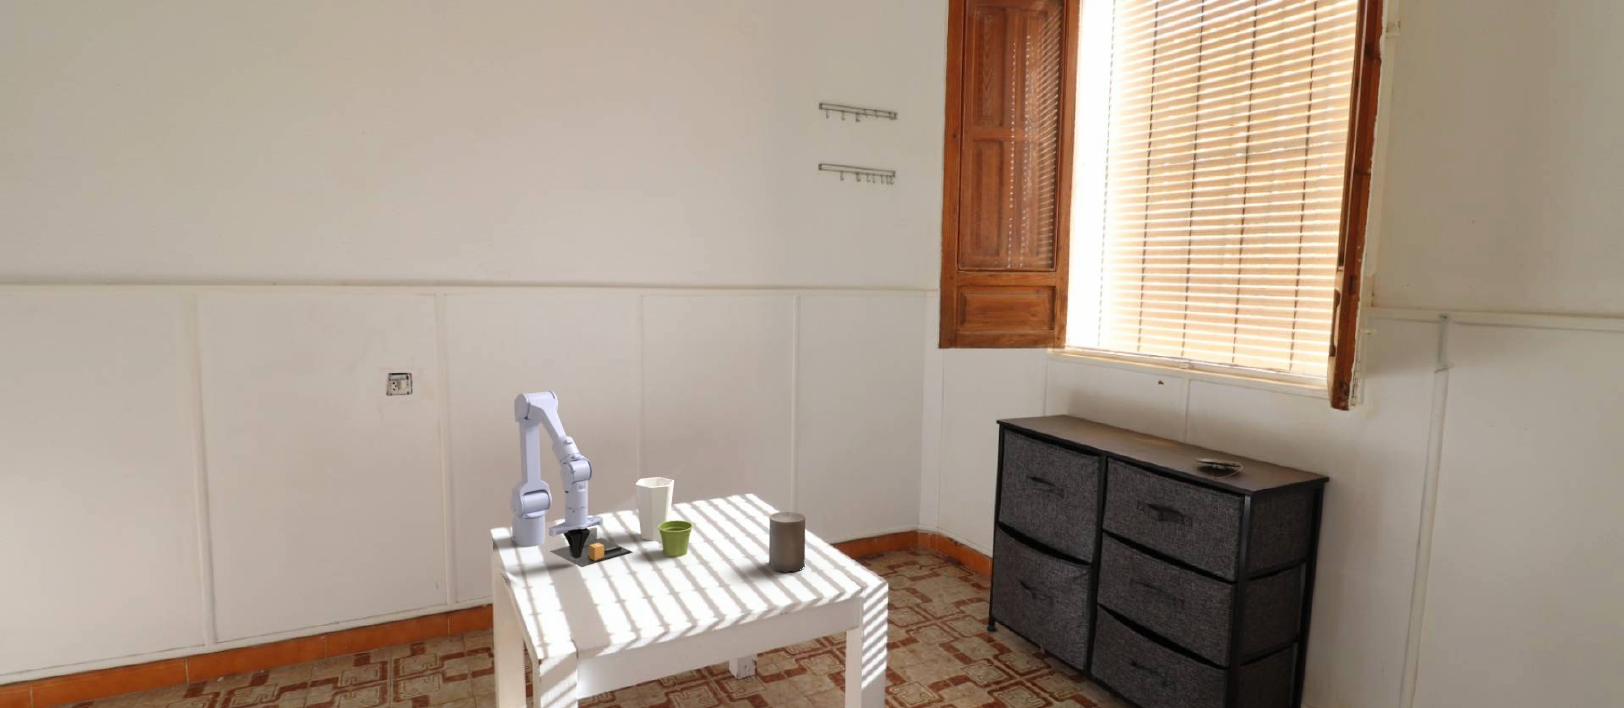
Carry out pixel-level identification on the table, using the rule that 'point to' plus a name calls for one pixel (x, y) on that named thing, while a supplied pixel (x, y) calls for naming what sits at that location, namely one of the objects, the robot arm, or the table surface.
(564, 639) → the table surface
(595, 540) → the gate
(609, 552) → the console
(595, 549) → the fader
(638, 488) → the cup
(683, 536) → the plant pot
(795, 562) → the pillar candle
